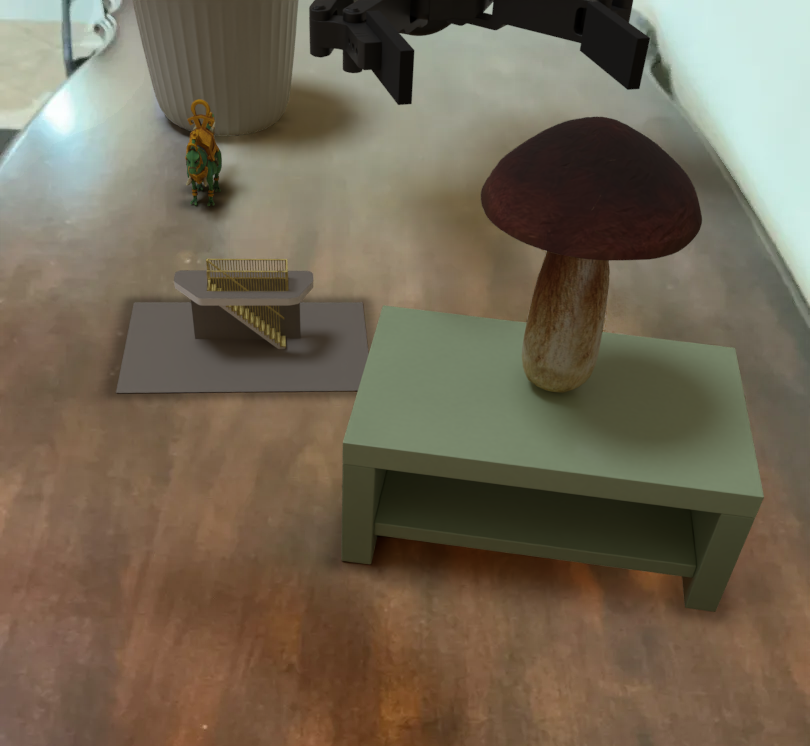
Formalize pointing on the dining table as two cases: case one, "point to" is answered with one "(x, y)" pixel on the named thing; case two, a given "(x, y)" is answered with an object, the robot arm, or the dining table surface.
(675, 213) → the decorative mushroom
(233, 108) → the canister
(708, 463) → the shelf
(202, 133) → the figurine
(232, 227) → the dining table surface
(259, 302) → the platform
